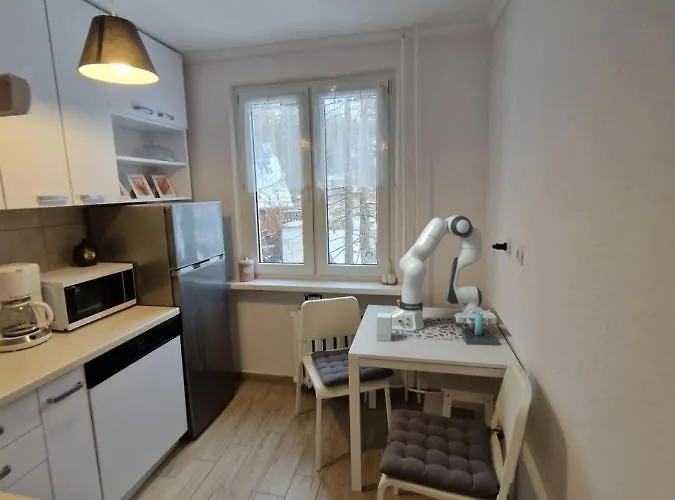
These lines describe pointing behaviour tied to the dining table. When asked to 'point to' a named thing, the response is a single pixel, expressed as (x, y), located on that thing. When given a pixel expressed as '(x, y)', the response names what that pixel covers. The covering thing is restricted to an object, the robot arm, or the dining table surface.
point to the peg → (478, 324)
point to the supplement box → (384, 326)
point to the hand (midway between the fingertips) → (479, 323)
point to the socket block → (478, 337)
